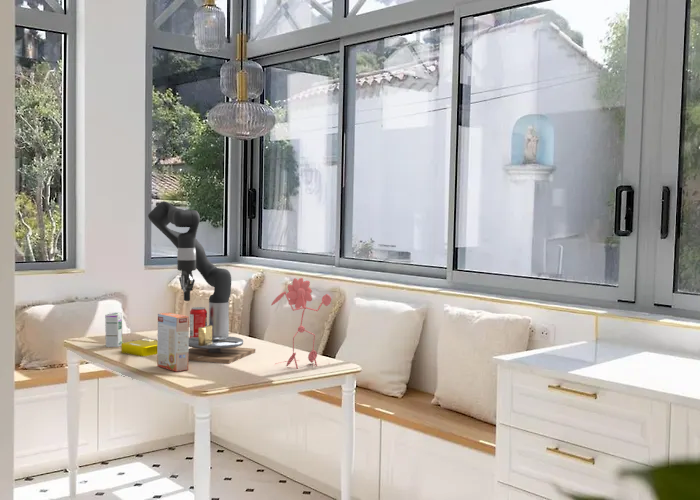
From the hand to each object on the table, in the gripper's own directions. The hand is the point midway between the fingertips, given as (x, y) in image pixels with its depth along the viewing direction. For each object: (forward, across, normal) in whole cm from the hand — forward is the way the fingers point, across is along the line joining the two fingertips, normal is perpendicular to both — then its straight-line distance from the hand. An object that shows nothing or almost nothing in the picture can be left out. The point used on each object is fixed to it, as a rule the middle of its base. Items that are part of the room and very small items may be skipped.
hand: (186, 300), depth 317 cm
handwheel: (+19, -1, -12) cm, 22 cm away
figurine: (+24, -32, -35) cm, 53 cm away
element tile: (+24, +19, +12) cm, 33 cm away
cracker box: (+24, -18, +12) cm, 32 cm away
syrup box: (+24, +38, +21) cm, 49 cm away
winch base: (+24, 0, -12) cm, 26 cm away
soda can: (+24, +38, -18) cm, 49 cm away
